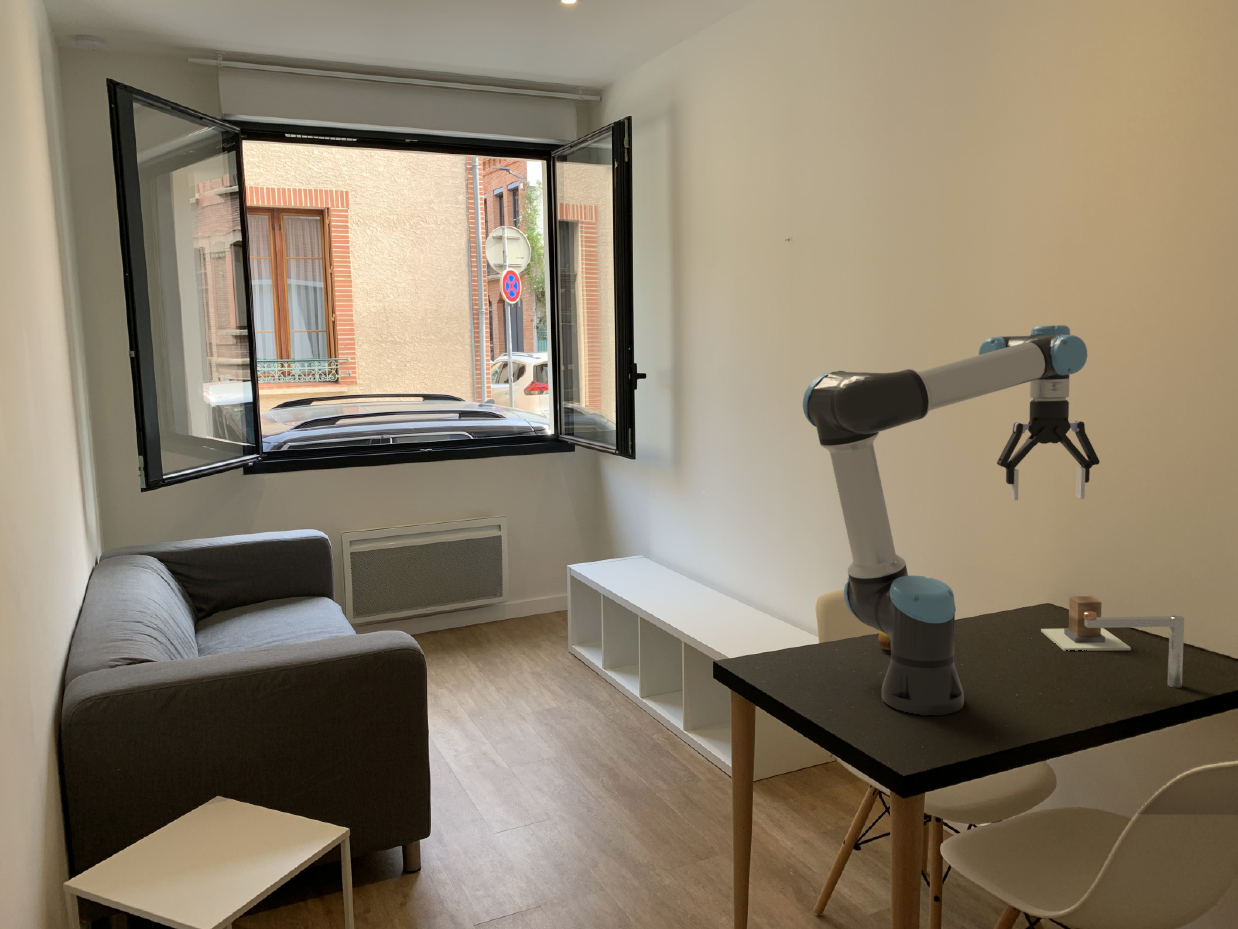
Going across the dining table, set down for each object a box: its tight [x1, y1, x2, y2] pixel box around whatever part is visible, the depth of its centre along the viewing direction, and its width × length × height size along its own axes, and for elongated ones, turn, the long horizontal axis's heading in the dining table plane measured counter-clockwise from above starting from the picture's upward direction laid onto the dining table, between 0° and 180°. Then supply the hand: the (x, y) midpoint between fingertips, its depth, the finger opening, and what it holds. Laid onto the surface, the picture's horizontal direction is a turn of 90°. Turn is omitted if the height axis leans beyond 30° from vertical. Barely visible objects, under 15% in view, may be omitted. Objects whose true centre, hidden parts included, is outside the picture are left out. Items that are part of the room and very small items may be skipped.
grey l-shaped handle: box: [1084, 611, 1185, 689], centre depth 182 cm, size 2×19×15 cm, turn 85°
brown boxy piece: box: [1063, 595, 1105, 643], centre depth 210 cm, size 6×6×9 cm
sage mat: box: [1040, 628, 1132, 652], centre depth 210 cm, size 14×14×1 cm
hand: (1046, 498), depth 198 cm, fingers open, 13 cm apart
